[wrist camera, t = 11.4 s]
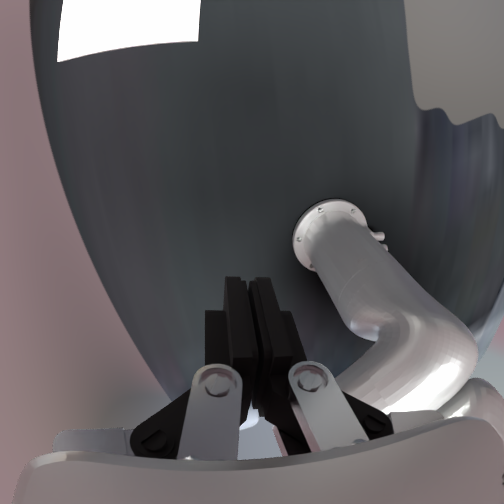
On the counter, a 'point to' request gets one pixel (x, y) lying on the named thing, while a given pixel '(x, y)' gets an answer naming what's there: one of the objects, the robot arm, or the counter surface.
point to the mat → (124, 25)
